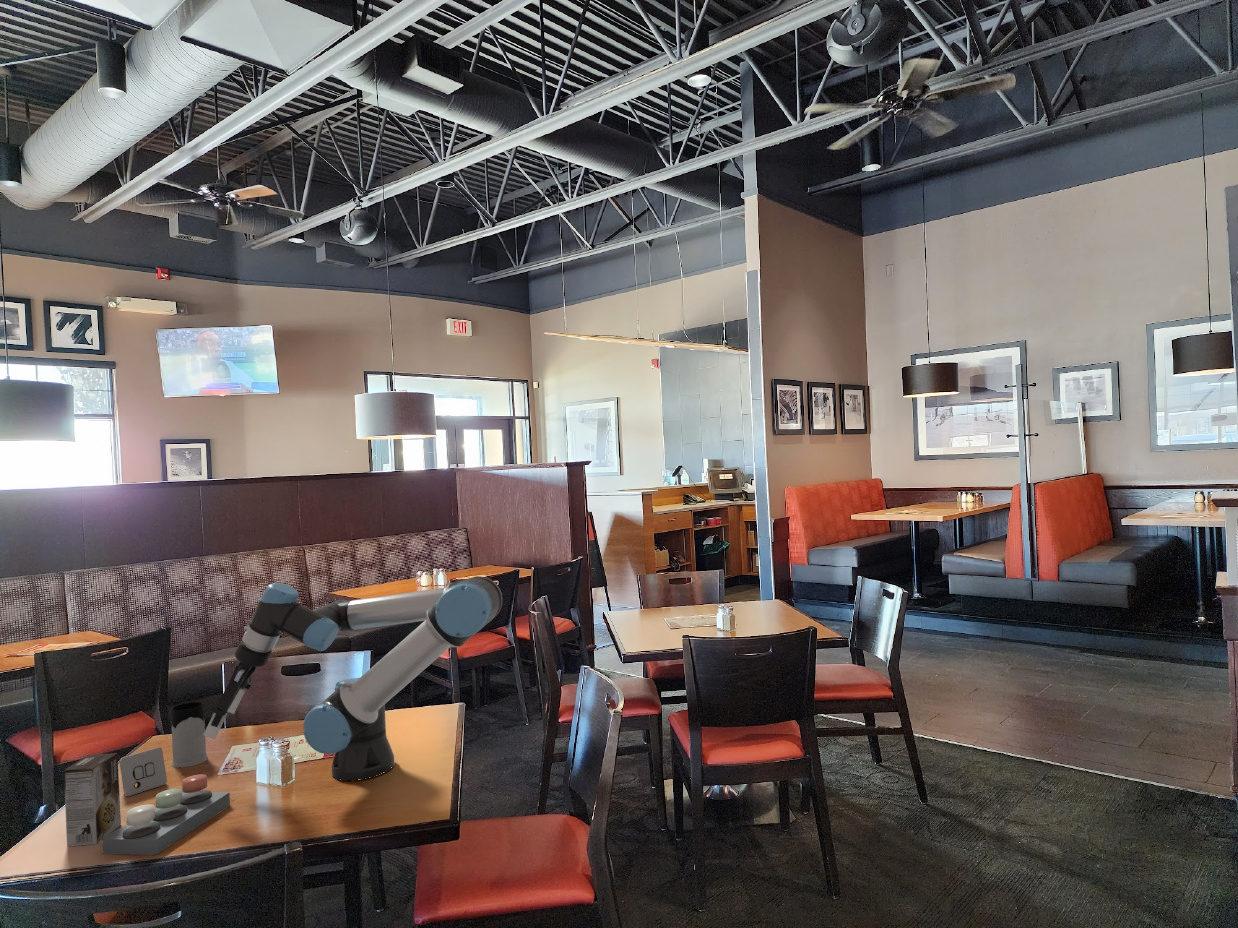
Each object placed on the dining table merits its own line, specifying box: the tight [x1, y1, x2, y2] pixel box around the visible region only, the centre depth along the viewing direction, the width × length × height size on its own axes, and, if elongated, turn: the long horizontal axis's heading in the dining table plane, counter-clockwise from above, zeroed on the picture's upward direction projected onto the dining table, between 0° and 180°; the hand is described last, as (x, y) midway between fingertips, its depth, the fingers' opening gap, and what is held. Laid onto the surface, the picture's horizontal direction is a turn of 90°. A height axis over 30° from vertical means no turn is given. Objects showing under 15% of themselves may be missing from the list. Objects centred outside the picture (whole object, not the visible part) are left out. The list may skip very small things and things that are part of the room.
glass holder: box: [170, 701, 209, 769], centre depth 210 cm, size 9×14×15 cm, turn 39°
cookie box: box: [63, 752, 122, 847], centre depth 164 cm, size 9×6×16 cm
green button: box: [155, 788, 183, 809], centre depth 166 cm, size 5×5×2 cm
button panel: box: [101, 789, 231, 856], centre depth 166 cm, size 12×23×4 cm, turn 172°
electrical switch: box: [119, 747, 168, 797], centre depth 190 cm, size 9×5×9 cm, turn 141°
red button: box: [181, 773, 208, 793], centre depth 174 cm, size 5×5×2 cm
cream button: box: [126, 803, 156, 826], centre depth 158 cm, size 5×5×2 cm
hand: (219, 723), depth 184 cm, fingers open, 13 cm apart
